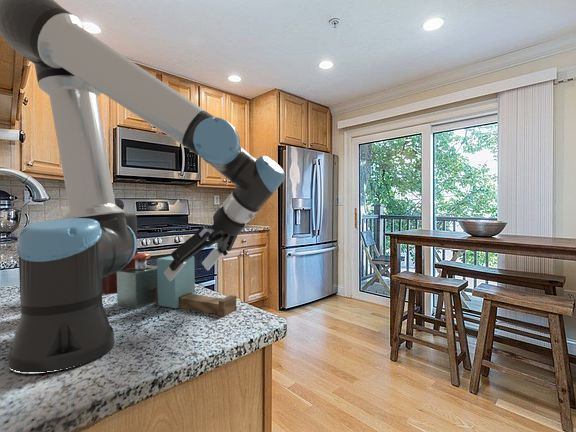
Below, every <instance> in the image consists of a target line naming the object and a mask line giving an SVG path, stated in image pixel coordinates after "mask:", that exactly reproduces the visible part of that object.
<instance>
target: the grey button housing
mask: <svg viewBox="0 0 576 432" xmlns="http://www.w3.org/2000/svg"><path fill="white" fill-rule="evenodd" d="M156 290H158V280H157V265H149V264H147V270H143V271H135V267H134V268H129V269H124V270H120V271H118V272H117V293H116V297H117V299H116V300H117V303H116V304H117V307H124V308H127V309H128V308H129V309H132V310H138V309H142V308H144V307H147V306H150V305H152V304H155V291H156Z"/></svg>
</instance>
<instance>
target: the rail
mask: <svg viewBox="0 0 576 432" xmlns="http://www.w3.org/2000/svg"><path fill="white" fill-rule="evenodd" d="M154 304H155V305H158V290H156V291H155V303H154ZM178 308H180V309H184V310H190V311H191V310H192V311H197V312H201V311H202V312H203V313H208V314H213V315H218V316H219V317H226V316H228V315H230V314H231V313H234V312H235V311H237V296H236V295H229V296H227V297H224V298H221V297H216V296H215V297H213V296H207V295H201V294H186V295H183V296H180V297H179V307H178Z"/></svg>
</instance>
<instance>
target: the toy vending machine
mask: <svg viewBox="0 0 576 432" xmlns="http://www.w3.org/2000/svg"><path fill="white" fill-rule="evenodd" d="M114 199H115V204H116V205H117V206H118V207H119V208H121V209H122V210H124V208H125V203H124V201H123V200H122V199H120V198H114ZM124 213H125V218H126V224H127V226H128V227H129V228H131V229H132V231H133V232H134V234H135V236H136V240H137V241H138V225H137V224H138V223H137V221H138V220H137V215H136V213H131V212H130V213H129V212H128V213H127V212H124ZM135 253H138V247H137V248H136V252H135ZM134 267H135V259H132V260H131V261H130V262H129V263H128V264H127V265H126V266H125V267H123V268H122V269H121V270H124V269H129V268H134ZM102 293H104V294H105V295H111V294H115V293H116V294H117V272H116V273H113V274H110V275H108V276H106V277H104V278H102Z"/></svg>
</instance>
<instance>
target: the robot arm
mask: <svg viewBox="0 0 576 432" xmlns="http://www.w3.org/2000/svg"><path fill="white" fill-rule="evenodd" d="M0 35H1V37H2V39H3V40H4V41H5V42H6V43H7V45H9V47H10V48H11V49H12V50H14V51H15V52H16V53H18V54H19V55H21V56H22V57H23V58H25V59H26V60H28V61H29V62H30V63H32V64H33V65H34V68H35V73H36V74H35V76H36V80H37V85H38V88H39V89H40V90H41V91H43V92H44V93H46V95H48V96H49V102H50V106H51V113H52V118H53V124H54V129H55V136H56V140H57V147H58V152H59V153H58V154H59V157H60V163H61V164H60V165H61V168H62V169H61V170H62V175H63V180H64V186H65V192H66V197H67V202H68V208H69V209H68V211H67V212H66V214H64V216H63V217H62V218H59V219H54V220H44V221H37V222H34V223H30V224H29V225H27V226H24V227H23V228H22V229H21V230H20V232H19V234H18V246H17V249H16V253H17V256H18V271H19V273H18V275H19V276H18V277H19V296H20V297H19V300H20V320H19V323H18V325H17V329H16V331H15V335H14V339H13V341H12V345H11V346H10V348H9V350H8V354H7V358H8V362H7V363H8V365H9V366H8V368H9V367H10V368H11V369H13V370H16V371H20V372H47V371H54V370H60V369H66V368H69V367H73V366H77V365H80V364H83V365H85V364H84V363H86V364H88V363H90V362H93V361H95V360H97V359H99V358H101V357H103V356H104V355H106V353H108V352H109V351H110V350H111V349H112V348H113V347H114V345H115V331H114V329H113V327H112V325H110V321H109V318H108V316H107V313H106V310H105V309H106V308H105V307H104V303H103V292H102V278H104V277H106V276H108V275H110V274H113V273H116V272H118V271H120V270H121V269H122V268H123V267H125V266H126V265H127V264H128V263H129V262H130V261H131V260H132V258H133V257H134V255H135V252H136V248H137V249H138V239H137V240H136V236H135V234H134V232H133V231H132V229H131V228H129V227H128V226H127V224H126V218H125V213H126V212H125V210H124V209H123V210H122V209H121V208H119V207H118V206H117V205H116V204H115V199H116V198H115V194H114V188H113V183H112V176H111V170H110V166H109V165H110V164H109V159H108V158H109V157H108V153H107V152H108V151H107V148H106V147H107V146H106V143H105V142H106V141H105V140H106V139H105V135H104V129H103V124H102V119H101V118H102V117H101V112H100V107H99V106H100V105H99V100H98V97H99V96H100V95H101V94H103V95H104V96H106V97H108V98H109V99H110V100H112V101H114V102H115V103H117V104H118V105H120V106H121V107H123V108H124V109H126V110H127V111H129V112H130V113H132V114H134V115H135V116H137V117H139V118H140V119H141V120H143V121H145V122H146V123H148V124H149V125H151V126H153V127H154V128H156V129H157V130H158V131H160V132H162V133H163V134H165V135H166V136H168V137H170V138H171V139H173V140H174V141H176V142H177V143H179V144H180V145H182V146H184V147H185V148H186V149H188V150H189V151H191V152H192V153H194V154H195V155H197V156H198V157H200V158H202V160H204V161H205V162H206V163H207V164H209V165H210V166H211V167H212V168H214V169H215V170H216V171H217V172H218V173H220V174H221V175H223V176H224V177H225V178H226V179H227V180H229V181H230V182H231V183H232V184H234V185H235V188H234V189H233V190H232V191H231V193H230V194H229V195H228V196H227V197H226V198H225V200H224V201H223V203H222V205H220V206H219V207H218V209H217V210H216V211H215V212H214V214H213V217H212V218H213V219H212V220H213V224H212V225H211V226H209V227H208V228H207V227H205V226H204V225H202V226H201V227H200V228H199V229H198V230H197V231H196V232H195V233H193V235H191V237H189V238H187V240H185V241H184V242H183V243H182V244H180V246H178V247H177V248H176V249H174V250H173V251H172V252H171V253H170V256H172V257H173V259H174V260H173V261H172V262H171V264H170V265H169V266H168V268H167V269H166V270H165V271H164V274H165V276H166V277H167V279H168V280H169V281H172V280H173V279H174V277H175V276H176V275H177V274H178V272H179V271H180V270H181V269H182V268H183V266H184V265H185V264H186V262H185V261H187V260H188V259H189V258H191V257H192V256H194V257H195V255H196V254H198V253H199V252H201V251H202V250H204V249H205V248H210V247H212V246H214V244H217V247H214V248H213V249H212V250H211V251H210V252H209V254H208V255H207V256H206V257H205V258H204V260H203V261H202V262H201V264H202V266H203V267H204V269H205V270H206V271H209V270H210V269H211V268H212V267H213V266H214V265H215V264H216V262H217V261H218V260H219V259H220V258H221V257H222V255H223V256H224V257H225V256H227V255H228V254H229V253H228V252H230V251H232V249H233V246H234V244H235V242H236V240H237V238H238V235H239V234H240V233H241V232H242V231H243V230H244V229H245V228H246V226H247V224H248V223H249V222H250V221H251V220H254V219H255V215H256V214H257V213H258V211H260V209H261V208H262V207H263V206H264V205H265V204H266V203H267V201H268V200H270V198H271V197H272V196H273V195H274V194H275V192H277V190H278V188H279V187H280V186H281V184H282V183H283V182H284V181H285V178H286V173H285V172H284V169H283V168H282V167H281V166H280V165H279V164H278V163H277V162H276V161H275V160H273V159H272V158H270V157H269V156H267V155H260V156H259V157H257V158H255V157H254V156H252V154H250V153H248V152H247V150H246V149H244V148H243V147H242V146H241V141H240V140H241V139H240V136H239V133H238V131H237V130H236V129H235V126H233V125H232V124H231V123H230V121H228V120H226V119H224V118H222V117H217V116H214V115H213V114H211V113H209V112H207V111H206V110H205V109H203V108H202V107H201V106H199V105H197V104H196V103H195V102H193V101H192V100H190V99H189V98H187V97H185V96H184V95H182V94H181V93H179V91H177V90H175V89H173V87H171V86H169V85H168V84H166V83H164V82H163V81H161V80H160V79H159V78H158V77H156V76H154V75H153V74H151V73H150V72H149V71H146V70H145V69H144V68H142V67H140V65H138V64H137V63H134V61H133V60H132V61H131V59H129V58H127V57H126V56H124V54H121V53H120V52H118V51H117V50H115V49H114V48H113V47H111V46H109V44H107V43H105V42H104V41H102V40H101V39H99V38H98V37H96V36H94V35H93V34H91V33H90V32H88V31H87V30H85V28H84V24H83V22H82V21H81V20H80V19H79V18H78V17H77V16H76V15H74V14H72V13H71V12H70V11H68V10H66V8H63V7H62V6H61V5H60V3H59V4H58V2H57V1H55V0H0ZM100 356H101V357H100ZM98 357H99V358H98ZM96 358H97V359H96ZM94 359H95V360H94ZM92 360H93V361H92ZM89 361H90V362H89ZM87 362H88V363H87ZM80 366H81V365H80ZM77 367H78V366H77Z"/></svg>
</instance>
